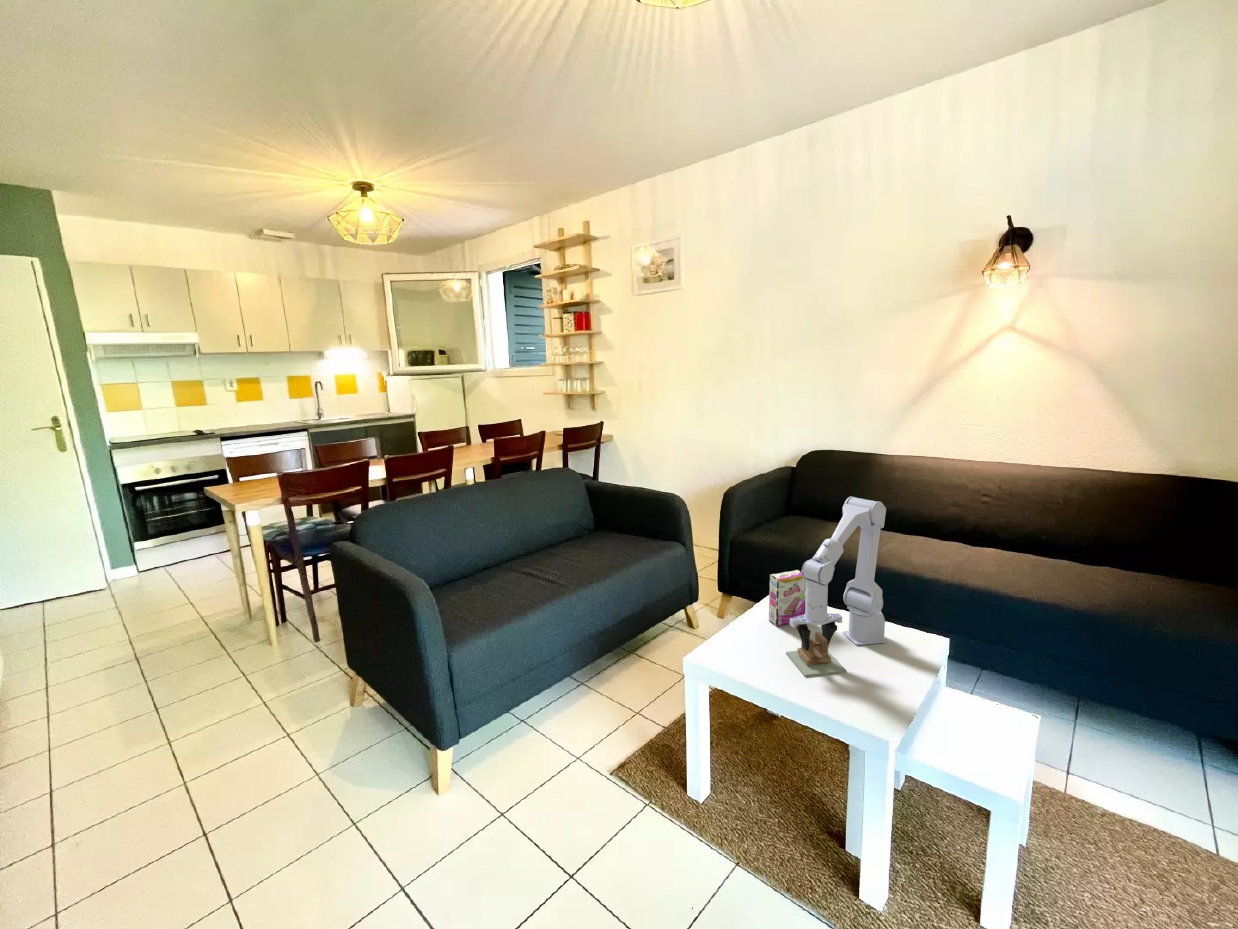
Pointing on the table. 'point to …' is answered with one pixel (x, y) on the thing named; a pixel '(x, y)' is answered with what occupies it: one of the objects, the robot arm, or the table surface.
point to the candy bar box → (786, 597)
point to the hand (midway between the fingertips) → (815, 647)
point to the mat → (815, 666)
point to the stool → (815, 651)
